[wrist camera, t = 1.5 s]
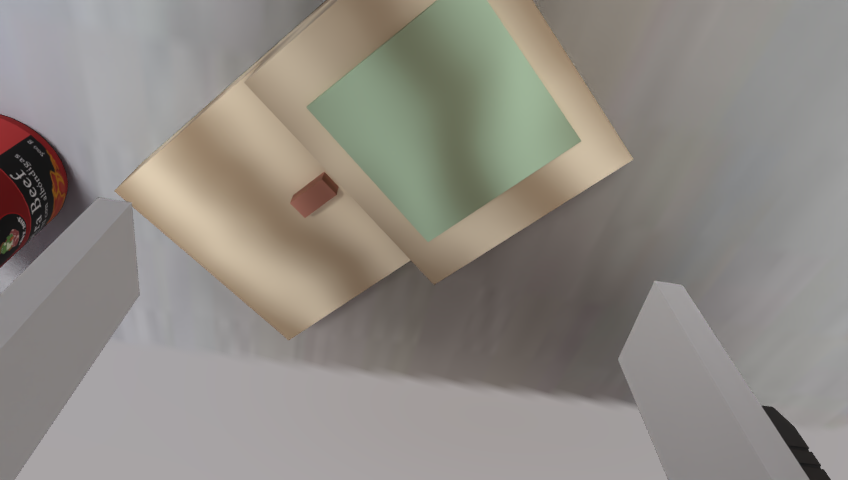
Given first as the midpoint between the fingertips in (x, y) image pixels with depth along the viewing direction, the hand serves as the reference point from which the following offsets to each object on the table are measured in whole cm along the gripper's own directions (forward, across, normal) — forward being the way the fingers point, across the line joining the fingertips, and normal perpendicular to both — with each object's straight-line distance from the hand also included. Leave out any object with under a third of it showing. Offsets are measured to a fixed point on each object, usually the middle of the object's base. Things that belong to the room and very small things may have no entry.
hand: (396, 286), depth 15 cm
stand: (+22, -2, -5) cm, 22 cm away
